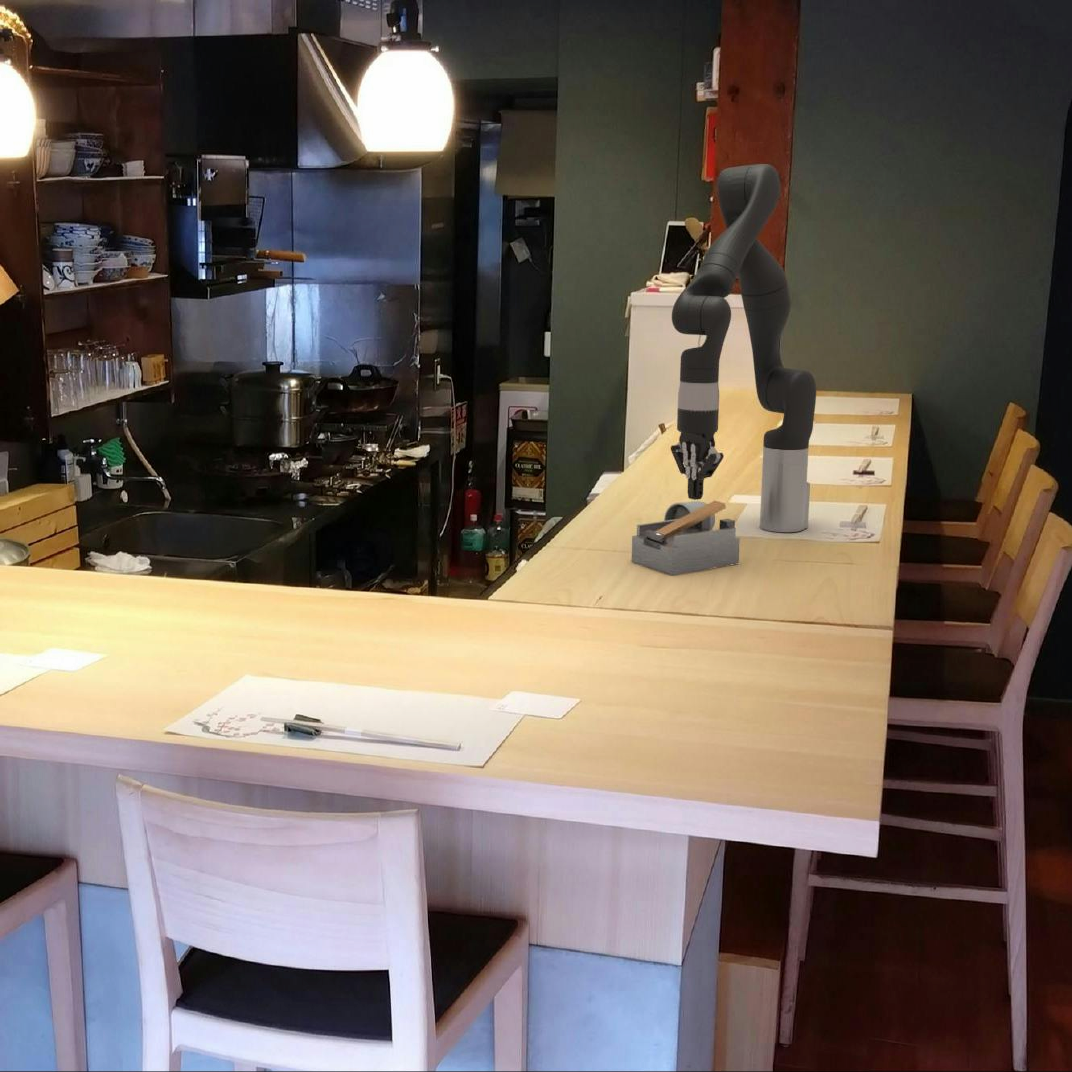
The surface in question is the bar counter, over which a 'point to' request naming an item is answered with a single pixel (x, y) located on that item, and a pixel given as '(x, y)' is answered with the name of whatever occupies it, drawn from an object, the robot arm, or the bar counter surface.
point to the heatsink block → (687, 547)
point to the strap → (685, 522)
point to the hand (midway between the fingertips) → (694, 498)
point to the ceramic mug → (685, 511)
